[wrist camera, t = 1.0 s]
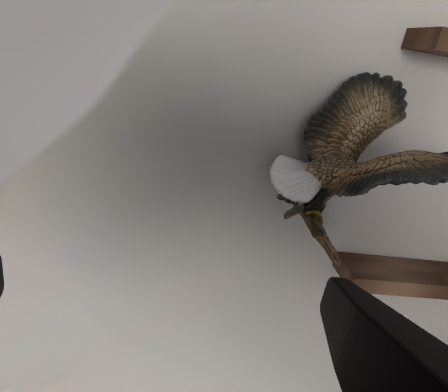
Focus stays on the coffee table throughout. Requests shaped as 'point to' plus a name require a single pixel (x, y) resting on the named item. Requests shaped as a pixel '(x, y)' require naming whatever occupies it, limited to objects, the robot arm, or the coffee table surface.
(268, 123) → the coffee table surface
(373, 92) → the eagle figurine
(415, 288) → the walnut bay
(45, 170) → the coffee table surface
